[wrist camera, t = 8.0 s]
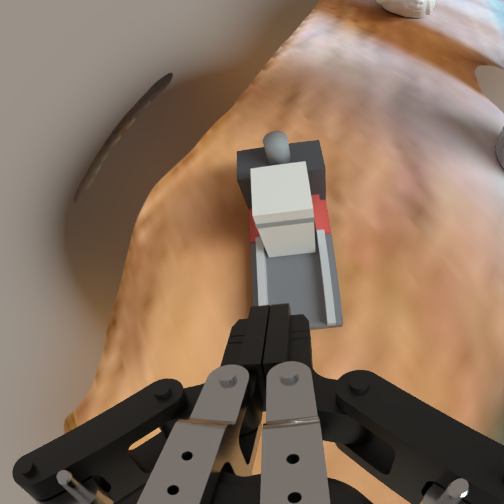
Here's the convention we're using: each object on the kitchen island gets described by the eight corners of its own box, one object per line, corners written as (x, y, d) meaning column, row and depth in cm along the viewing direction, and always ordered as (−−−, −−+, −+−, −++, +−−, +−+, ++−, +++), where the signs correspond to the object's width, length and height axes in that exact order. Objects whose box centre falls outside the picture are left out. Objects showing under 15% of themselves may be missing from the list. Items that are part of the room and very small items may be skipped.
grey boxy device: (342, 326, 32) (352, 301, 22) (256, 334, 33) (230, 313, 24) (320, 178, 39) (317, 119, 30) (250, 187, 41) (230, 131, 31)
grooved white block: (315, 252, 34) (313, 209, 26) (268, 258, 34) (251, 216, 26) (310, 211, 36) (306, 160, 28) (265, 216, 37) (249, 168, 28)
